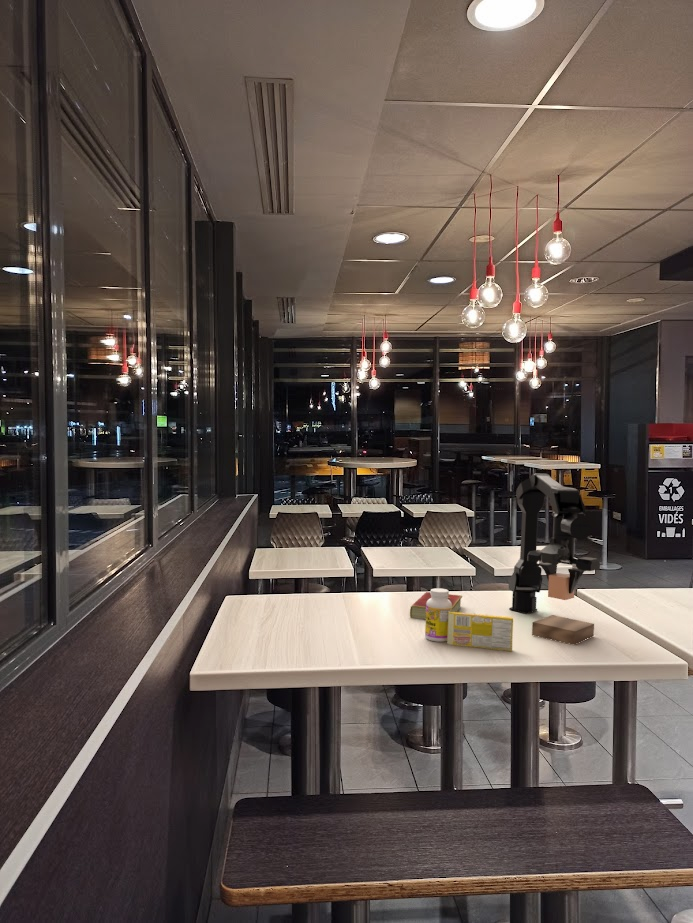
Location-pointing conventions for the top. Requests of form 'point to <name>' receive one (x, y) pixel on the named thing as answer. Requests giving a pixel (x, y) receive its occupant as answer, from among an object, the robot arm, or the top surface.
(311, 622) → the top surface
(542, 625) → the walnut block
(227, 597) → the top surface
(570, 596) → the pink clay cube
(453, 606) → the hardcover book
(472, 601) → the top surface
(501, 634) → the candy box
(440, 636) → the supplement bottle
